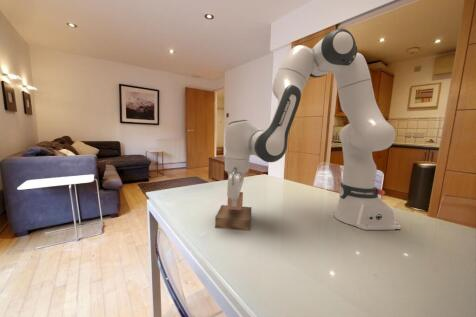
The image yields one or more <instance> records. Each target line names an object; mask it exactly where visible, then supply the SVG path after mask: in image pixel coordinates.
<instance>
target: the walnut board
mask: <svg viewBox="0 0 476 317" xmlns="http://www.w3.org/2000/svg"><path fill="white" fill-rule="evenodd" d="M227 207H228V204H225V205H224V204H222V205H220V207H219V210H218V211H217V213H216V216H215V219H214V228H215V229H224V230H239V231H251V230H250V229H251V224H252V223H251V222H252V221H251V220H252V207H251V206H242V209H241V210H234V209H227Z"/></svg>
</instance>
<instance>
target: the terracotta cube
mask: <svg viewBox="0 0 476 317" xmlns="http://www.w3.org/2000/svg"><path fill="white" fill-rule="evenodd" d="M243 198H244V192H242V191H240V194H239V197H238V199H237V206H236V207H233V206H232V200H231V199H229V198H228V197H227V205H228V207H227V209H234V210H241V209H242V207H243V201H244V199H243Z"/></svg>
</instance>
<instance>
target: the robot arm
mask: <svg viewBox="0 0 476 317" xmlns="http://www.w3.org/2000/svg"><path fill="white" fill-rule="evenodd" d="M329 73H331V74H332V75H333V77H334V79H335V84H336V89H337V94H338V98H339V103H340V109H341V112H343V113H344V115H345V117H347V120H348V124H346V125H344V126H343V127H342V128H341V130H340V131H339V135H338V136H339V140H340V142H341V148H342V157H343V167H342V168H343V169H342V181H341V182H340V186H339V198H338V203H337V206H336V209H335V211H334V214H333V216H334V217H335V219H337V220H338V221H340V222H343V223H344V224H348V225H350V226H354V227H357V228H359V229H361V230H364V231H374V230H375V231H378V230H379V231H380V230H382V231H384V230H385V231H386V230H387V231H389V230H390V231H393V230H394V231H396V230H395V229H400V230H401V229H402V226H401V224H400V222H398V221H397V220H396V219H395V214H394V211H393V209H392V208H391V207H390V206H389V205H388V204H387V203H386V202H385V201H383V200H382V199H381V198H380V197H379V195H380V196H384V195H385V194H386V192H385V190H382V189H378V188H377V187H375V183H376V179H377V178H376V177H377V169H378V168H377V164H376V163H375V160H374V158H373V157H374V156H373V152H379V151H383V150H384V151H385V150H386V149H389V148H390V147H391V146H392V145H393V144H394V142H395V139H396V136H397V135H396V130H395V128H394V126H392V125H391V124H390V123H389V122H388V121H387V120H386V119H385V117H384V115H383V114H382V112H381V110H380V108H379V106H378V103H377V101H376V97H375V93H374V88H373V83H372V77H371V73H370V69H369V67H368V63H367V61H366V58H365V57H364V55H363V54H362V53H360V52H358V46H357V42H356V40H355V36H354V35H353V34H352V33H351V32H350V31H349V30H348V29H346V28H336V29H334V30H332V31H331V32H328V33H327V34H326V35H325V36H324V37H323V38H321V39H320V40H319V41H318V42H317V43H315V45H314V46H313V47H312V48H310V47H308V46H306V45H303V44H301V45H300V44H299V45H295V46H293V47H292V48H291V49H290V50H289V51H288V53H287V54H286V56H285V57H284V59H283V60H282V62H281V64H280V66H279V67H278V71H277V73H276V74H275V77H274V80H273V84H272V87H271V90H272V94H273V95H274V97H275V99H277V106H276V109H275V111H274V113H273V116H272V119H271V122H270V123H269V126H268V127H267V128H266V129H265V130H264V129H262V128H260V127H257V125H254V124H253V123H251V122H250V121H249V120H247V119H241V120H235V121H231V122H229V123H228V125H227V126H226V130H225V137H224V138H225V139H224V141H225V143H224V146H225V155H224V171H225V172H227V176H228V177H227V192H226V196H227V199H228V198H229V199H231V200H232V206H233V207H236V206H237V199H238V197H239V194H240V192H242V191H241V190H242V188H243V183H244V180H245V176H246V173H248V172H250V157H251V156H255V157H257V158H259V159H260V160H262V161H264V162H266V163H276V162H278V161H280V159H282V158H283V157H284V156H285V154H286V151H287V149H288V137H289V133H290V130H291V127H292V125H293V122H294V120H295V117H296V114H297V111H298V108H299V105H300V102H301V98H302V94H303V91H304V89H305V87H306V85H307V83H308V81H309V78H321V77H323V76H325V75H327V74H329Z"/></svg>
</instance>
